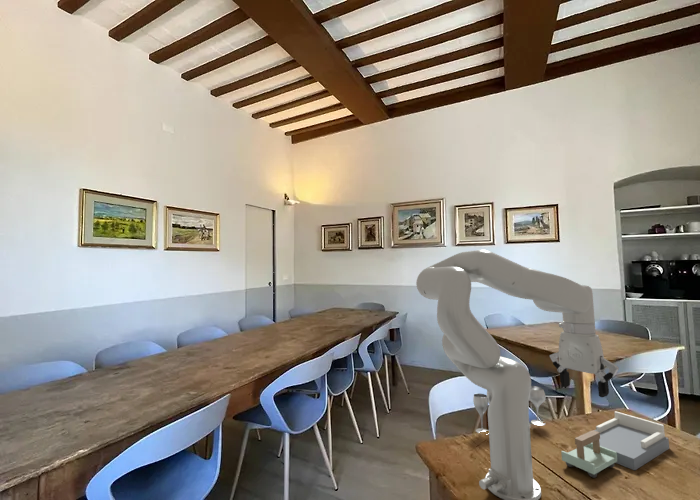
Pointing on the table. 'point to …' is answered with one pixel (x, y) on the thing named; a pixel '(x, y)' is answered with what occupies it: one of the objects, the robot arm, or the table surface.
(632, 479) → the table surface
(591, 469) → the mint green tray
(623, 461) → the dock
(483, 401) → the goblet set
